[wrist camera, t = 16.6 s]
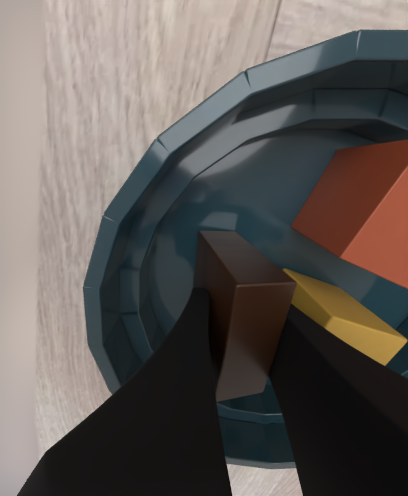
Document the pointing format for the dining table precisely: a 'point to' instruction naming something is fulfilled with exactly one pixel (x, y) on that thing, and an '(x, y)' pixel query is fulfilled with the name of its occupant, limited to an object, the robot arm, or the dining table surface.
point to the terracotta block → (363, 209)
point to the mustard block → (346, 318)
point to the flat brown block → (241, 310)
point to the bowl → (245, 209)
